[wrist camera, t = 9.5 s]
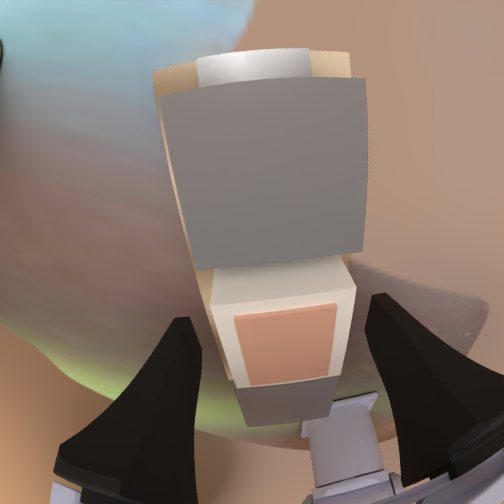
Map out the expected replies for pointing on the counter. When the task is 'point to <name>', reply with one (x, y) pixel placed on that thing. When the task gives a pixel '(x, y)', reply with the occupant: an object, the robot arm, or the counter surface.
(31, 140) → the counter surface
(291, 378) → the block
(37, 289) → the counter surface
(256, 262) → the board
